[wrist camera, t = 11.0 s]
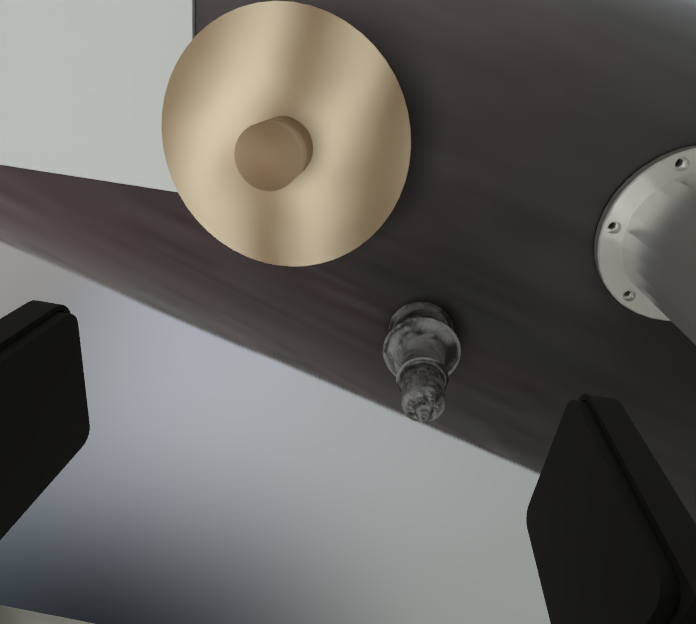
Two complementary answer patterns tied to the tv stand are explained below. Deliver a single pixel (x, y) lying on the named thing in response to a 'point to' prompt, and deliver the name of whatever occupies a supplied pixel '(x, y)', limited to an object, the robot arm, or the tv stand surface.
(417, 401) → the salt shaker
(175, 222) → the tv stand surface
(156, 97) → the mat
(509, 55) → the tv stand surface
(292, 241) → the lid
